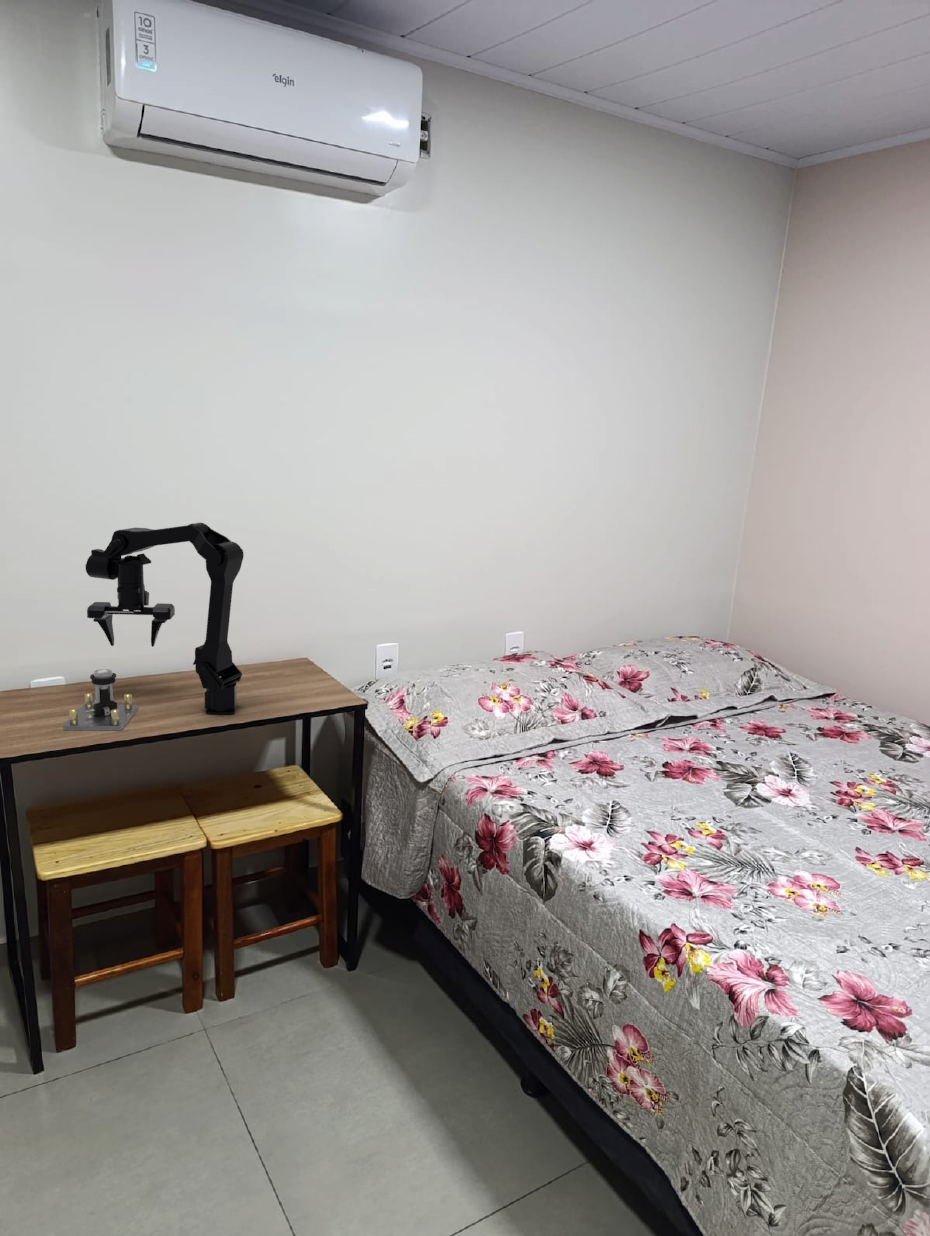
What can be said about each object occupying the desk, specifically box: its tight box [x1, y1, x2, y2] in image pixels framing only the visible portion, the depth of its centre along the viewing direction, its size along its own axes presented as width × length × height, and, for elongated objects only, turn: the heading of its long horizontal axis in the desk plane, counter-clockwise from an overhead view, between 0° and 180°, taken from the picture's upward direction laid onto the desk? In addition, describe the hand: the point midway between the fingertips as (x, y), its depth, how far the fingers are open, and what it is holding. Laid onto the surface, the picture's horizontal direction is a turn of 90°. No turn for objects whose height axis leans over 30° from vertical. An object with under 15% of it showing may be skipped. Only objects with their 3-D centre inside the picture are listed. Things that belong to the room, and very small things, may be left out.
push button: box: [87, 668, 118, 717], centre depth 189 cm, size 7×5×10 cm
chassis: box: [62, 692, 139, 732], centre depth 190 cm, size 12×14×4 cm
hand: (132, 645), depth 204 cm, fingers open, 9 cm apart
